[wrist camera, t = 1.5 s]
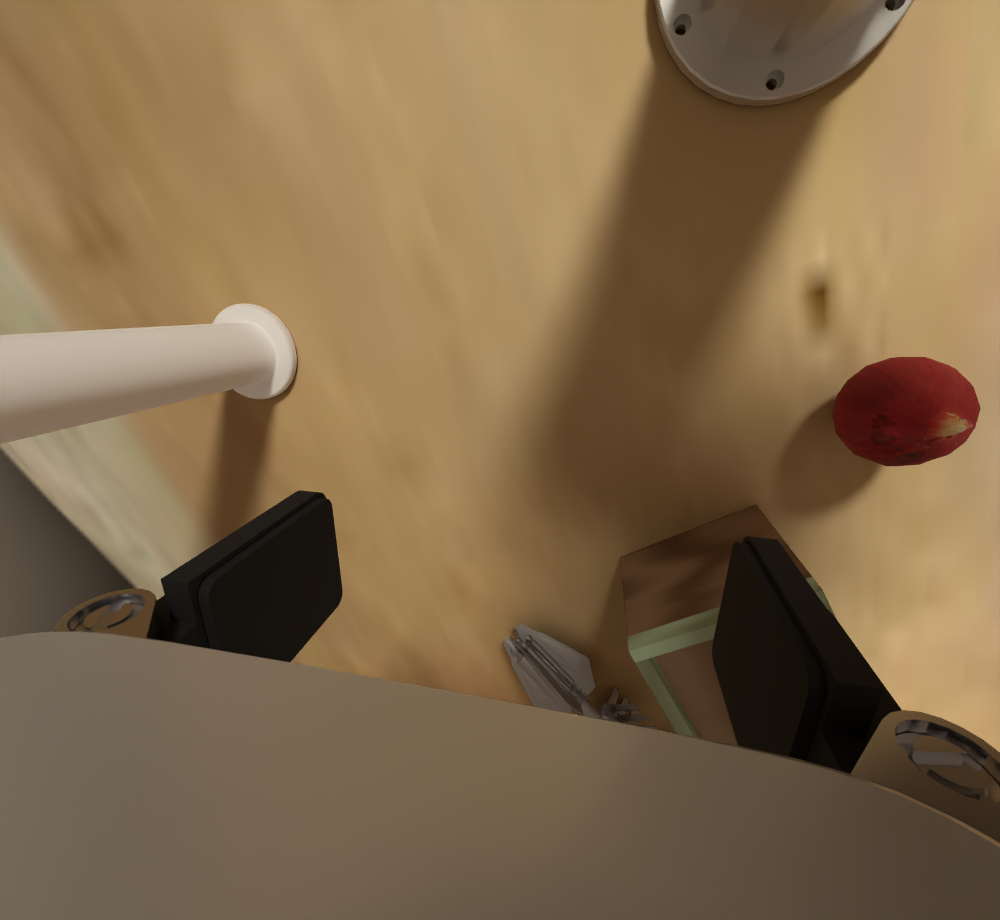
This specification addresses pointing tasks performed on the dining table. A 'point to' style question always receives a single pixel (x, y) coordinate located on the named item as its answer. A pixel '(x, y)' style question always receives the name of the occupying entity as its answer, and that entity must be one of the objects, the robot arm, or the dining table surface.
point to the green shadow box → (688, 617)
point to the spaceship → (562, 678)
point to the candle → (138, 369)
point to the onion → (905, 411)
